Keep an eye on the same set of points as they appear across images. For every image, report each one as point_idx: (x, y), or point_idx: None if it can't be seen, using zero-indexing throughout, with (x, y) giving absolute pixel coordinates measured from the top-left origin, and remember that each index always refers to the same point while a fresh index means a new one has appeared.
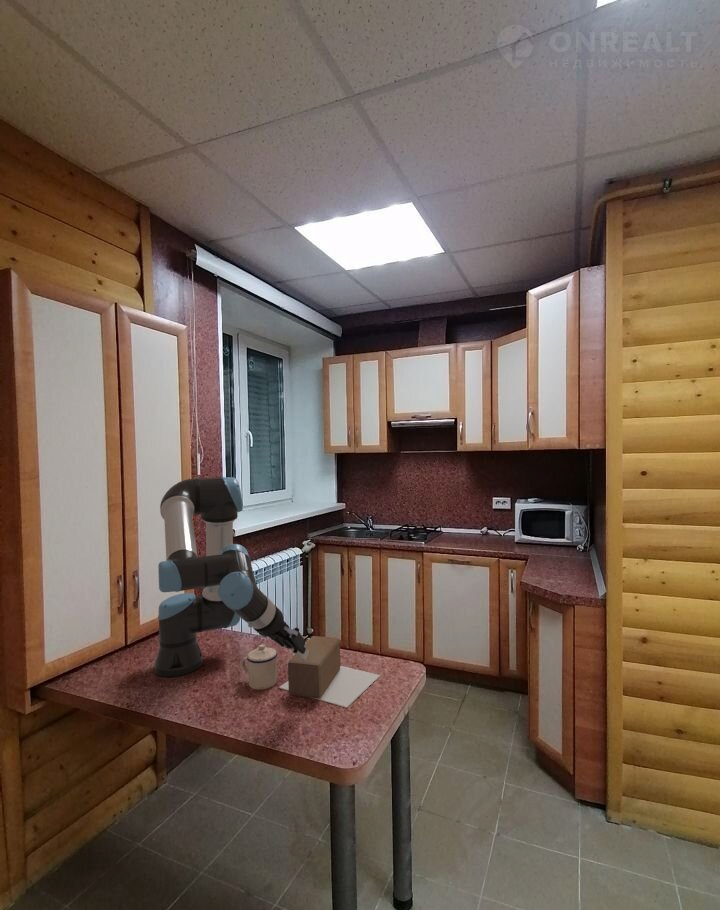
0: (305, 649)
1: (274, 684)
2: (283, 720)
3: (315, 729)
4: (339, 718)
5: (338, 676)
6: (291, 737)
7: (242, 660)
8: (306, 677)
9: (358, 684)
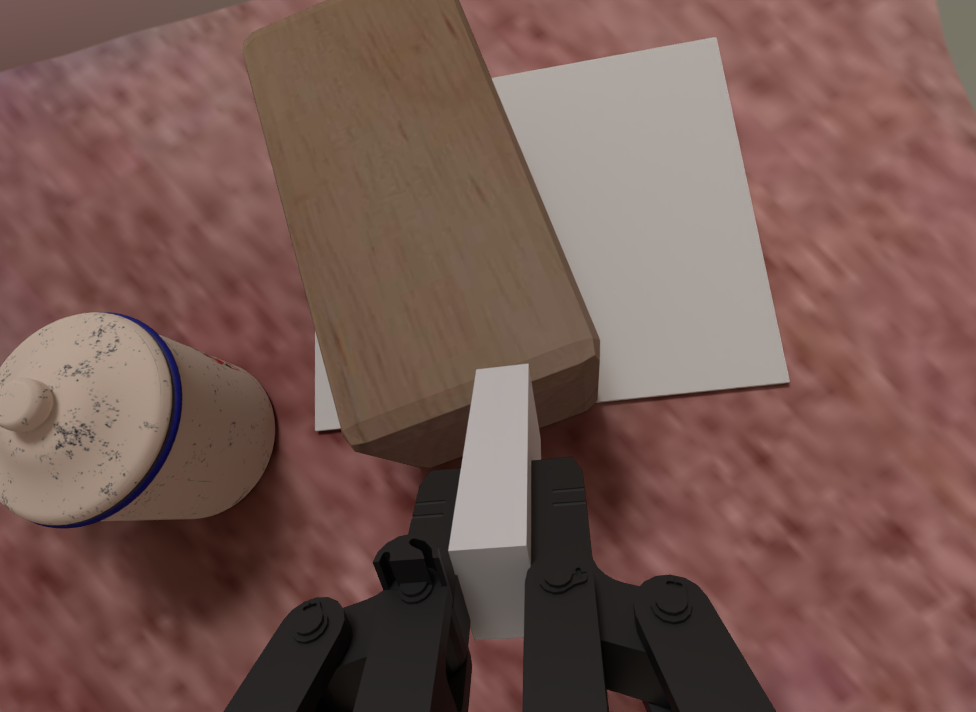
0: (581, 477)
1: (274, 422)
2: None
3: (792, 653)
4: (827, 487)
5: None
6: None
7: None
8: None
9: (678, 170)
